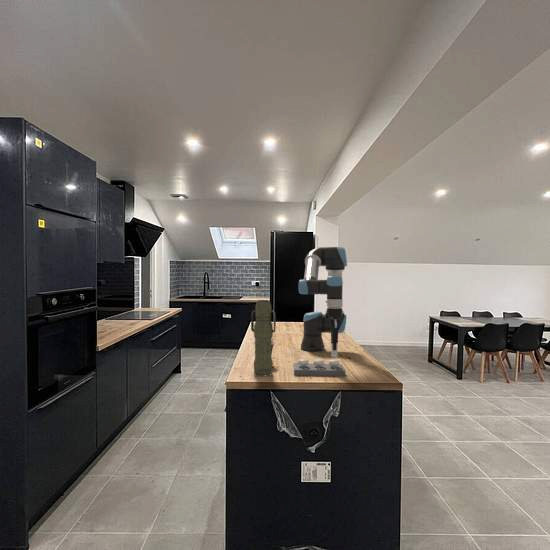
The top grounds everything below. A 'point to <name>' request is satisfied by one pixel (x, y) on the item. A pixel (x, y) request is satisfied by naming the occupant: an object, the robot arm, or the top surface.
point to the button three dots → (318, 363)
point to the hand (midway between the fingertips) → (334, 356)
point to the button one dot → (334, 363)
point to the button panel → (319, 370)
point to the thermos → (263, 337)
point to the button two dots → (303, 362)
